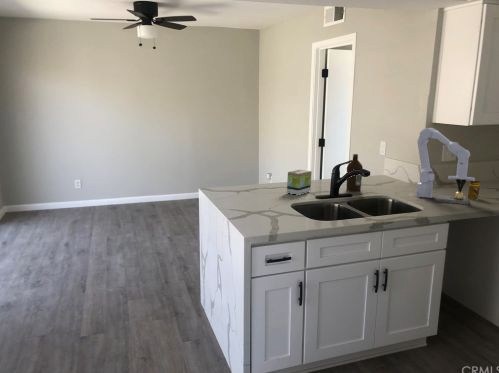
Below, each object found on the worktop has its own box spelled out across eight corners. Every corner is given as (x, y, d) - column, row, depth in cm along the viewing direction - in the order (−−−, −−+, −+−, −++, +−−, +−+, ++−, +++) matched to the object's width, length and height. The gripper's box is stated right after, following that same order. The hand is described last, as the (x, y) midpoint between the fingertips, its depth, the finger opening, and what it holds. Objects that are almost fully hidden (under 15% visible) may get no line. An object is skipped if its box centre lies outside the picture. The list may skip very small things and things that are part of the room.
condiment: (478, 200, 265) (480, 181, 262) (463, 198, 269) (465, 180, 266) (478, 198, 271) (481, 179, 269) (464, 196, 275) (466, 178, 273)
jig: (435, 201, 261) (436, 198, 260) (435, 197, 271) (435, 194, 270) (468, 204, 254) (468, 201, 254) (466, 200, 264) (467, 197, 264)
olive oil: (342, 190, 292) (344, 154, 286) (351, 188, 299) (353, 152, 294) (355, 192, 284) (358, 155, 279) (364, 190, 291) (366, 154, 286)
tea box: (299, 196, 273) (300, 173, 270) (286, 193, 279) (286, 171, 276) (311, 192, 285) (311, 170, 282) (298, 190, 291) (298, 168, 288)
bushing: (454, 202, 260) (455, 192, 259) (454, 200, 264) (455, 191, 262) (462, 203, 258) (463, 193, 257) (462, 201, 262) (463, 192, 260)
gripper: (449, 169, 256) (447, 191, 259) (476, 171, 250) (473, 194, 253) (448, 168, 262) (446, 189, 265) (475, 169, 257) (472, 191, 260)
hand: (459, 191), depth 260 cm, fingers closed
